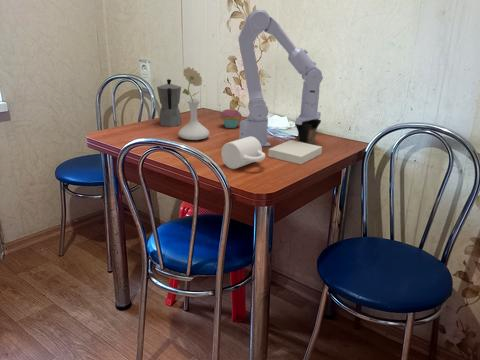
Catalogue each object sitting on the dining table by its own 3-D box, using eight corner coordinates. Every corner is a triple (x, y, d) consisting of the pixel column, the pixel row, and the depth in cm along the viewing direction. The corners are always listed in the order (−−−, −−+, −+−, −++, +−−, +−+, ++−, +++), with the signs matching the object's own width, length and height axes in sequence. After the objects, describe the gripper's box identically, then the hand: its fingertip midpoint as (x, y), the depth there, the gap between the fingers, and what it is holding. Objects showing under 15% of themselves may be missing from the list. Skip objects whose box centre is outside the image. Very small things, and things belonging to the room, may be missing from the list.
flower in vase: (215, 140, 153) (215, 69, 143) (186, 144, 147) (184, 70, 138) (199, 131, 163) (198, 64, 154) (171, 135, 157) (169, 66, 148)
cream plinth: (300, 164, 130) (301, 156, 129) (268, 156, 137) (268, 149, 136) (321, 153, 141) (322, 146, 140) (290, 146, 147) (290, 139, 146)
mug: (220, 165, 128) (221, 140, 125) (242, 158, 135) (243, 133, 132) (251, 175, 121) (252, 149, 118) (272, 167, 128) (273, 141, 125)
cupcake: (244, 126, 172) (245, 96, 168) (233, 130, 165) (234, 100, 161) (227, 123, 176) (228, 94, 172) (215, 127, 170) (215, 97, 165)
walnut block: (308, 147, 147) (310, 130, 145) (297, 145, 150) (298, 128, 148) (314, 144, 151) (316, 128, 148) (303, 142, 153) (304, 126, 151)
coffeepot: (159, 120, 178) (157, 76, 171) (181, 120, 179) (180, 76, 173) (158, 129, 164) (156, 82, 157) (182, 129, 165) (181, 82, 159)
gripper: (310, 107, 137) (306, 147, 142) (329, 101, 148) (325, 138, 153) (291, 104, 141) (288, 143, 146) (311, 98, 152) (308, 135, 157)
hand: (306, 140), depth 150 cm, fingers closed on walnut block, 5 cm apart
